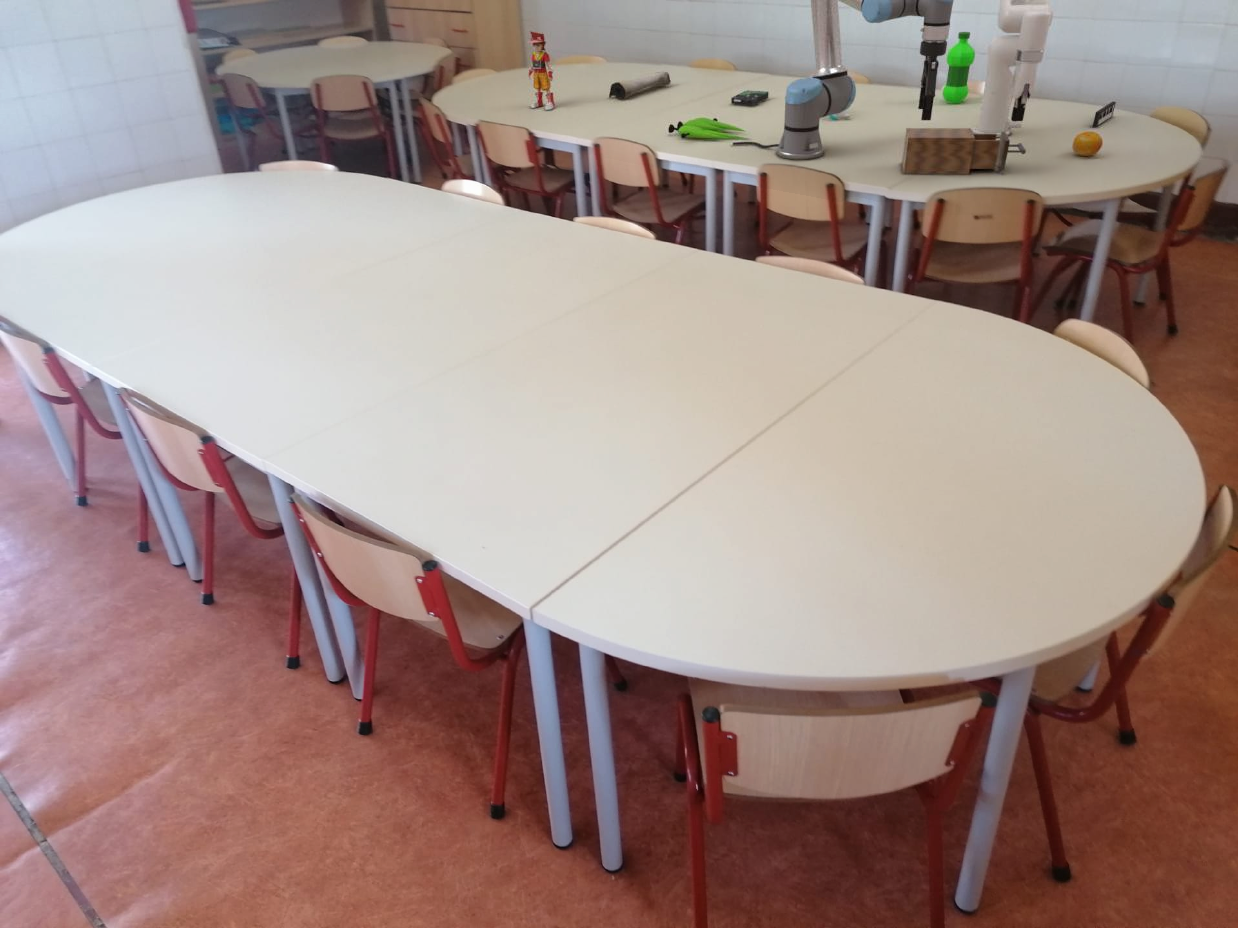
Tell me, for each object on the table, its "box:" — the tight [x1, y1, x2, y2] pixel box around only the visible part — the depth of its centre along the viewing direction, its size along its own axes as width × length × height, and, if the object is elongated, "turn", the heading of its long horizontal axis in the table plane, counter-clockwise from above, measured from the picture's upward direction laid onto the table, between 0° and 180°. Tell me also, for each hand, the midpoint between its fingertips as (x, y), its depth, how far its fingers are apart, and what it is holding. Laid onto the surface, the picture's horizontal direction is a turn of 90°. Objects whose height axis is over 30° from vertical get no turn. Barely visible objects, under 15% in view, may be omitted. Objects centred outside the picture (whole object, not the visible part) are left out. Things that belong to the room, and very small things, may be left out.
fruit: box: [1072, 131, 1103, 157], centre depth 289 cm, size 8×8×8 cm
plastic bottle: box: [942, 31, 976, 104], centre depth 348 cm, size 10×10×25 cm
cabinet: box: [901, 127, 975, 175], centre depth 285 cm, size 20×11×11 cm, turn 79°
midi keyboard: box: [1092, 101, 1117, 128], centre depth 320 cm, size 18×1×5 cm, turn 138°
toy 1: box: [527, 31, 556, 111], centre depth 374 cm, size 12×9×30 cm
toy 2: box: [667, 117, 749, 140], centre depth 332 cm, size 28×5×30 cm
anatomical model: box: [828, 111, 851, 121], centre depth 345 cm, size 15×10×10 cm
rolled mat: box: [608, 71, 672, 101], centre depth 395 cm, size 30×9×10 cm
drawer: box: [970, 132, 1027, 172], centre depth 282 cm, size 24×10×9 cm, turn 79°
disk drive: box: [730, 89, 770, 107], centre depth 372 cm, size 10×3×15 cm
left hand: (924, 114), depth 279 cm, fingers open, 13 cm apart
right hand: (1016, 120), depth 275 cm, fingers closed
